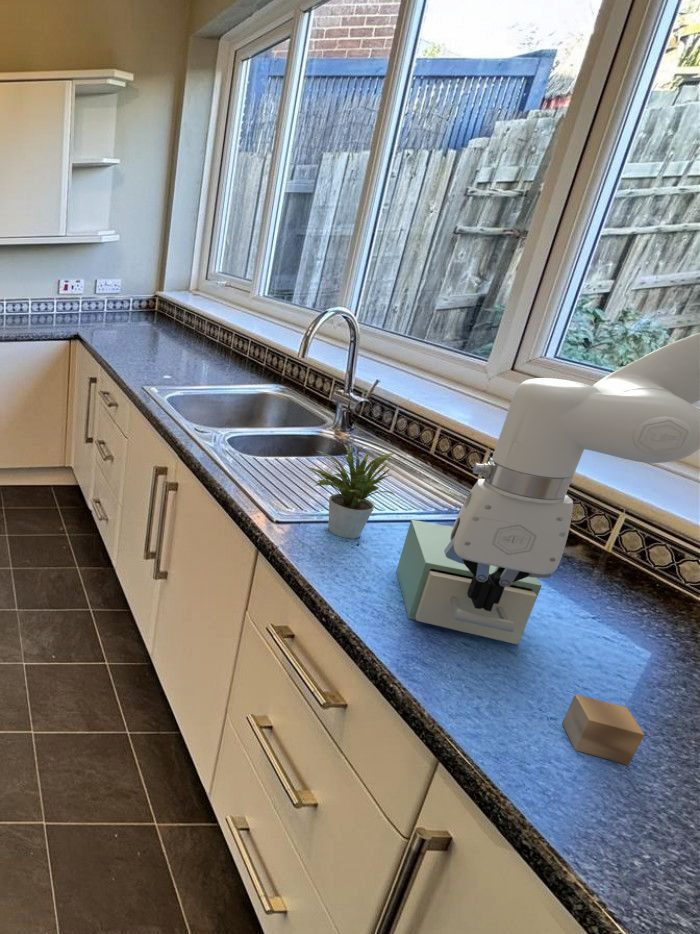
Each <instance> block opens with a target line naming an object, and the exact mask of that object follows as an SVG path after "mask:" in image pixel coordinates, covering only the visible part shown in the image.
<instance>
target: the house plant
mask: <svg viewBox="0 0 700 934" xmlns="http://www.w3.org/2000/svg"><path fill="white" fill-rule="evenodd" d="M344 448H345V450H346V453H347V455H346V454H345V453H342V455H343V456H344V458H345V460H346V463H347V465H348V469H349V474H348V473H347V471H346V470H345V469H346V468H344V466H343V465H342V463H340V461H339V460H338V459H337V458H335V457H334V456H333V455H330V454H328V453H326V452H323V451H319V450H315V449H314V450H315V452H318V453H320V454H323V455H325V456H324V458H325V459H328V460H330V461H332V462H336V464H335V463H332V462H330V461H327V463H328V464H332V465H333V466H334V467H335V469H336V470H337V471H338V473H334V474H331V473H329V472H327V471H324V470H322V469H318V468H314V467H310V466H309V467H308V468H309V469H310V470H312V471H314V474H315V475H318V476H321V477H322V478H323V479H318V480H316V481H314V484H315V483H316V484H315V485H314V487H317V486H331V487H332V488H333V489H334V490H335V492H337V493H335V494H334V493H333V494H332V495H330V496H329V497H328V521H327V523H328V525H327V526H328V527H327V529H328V531H329V532H330V533H331V534H333V535H335V536H337V537H339V538H344V539H351V540H352V539H359V538H360V536H361V534H362V533H363V530H364V528H365V526H366V525H367V523H368V520H369V519H370V516H371V515H372V514H373V513H372V512H373V511H374V509H375V504H374V503H373V502H372V501H371V500H369V499H367V498H368V497H370V496H371V495H374V494H377V493H379V494H380V493H388V494H391V495H393V496H394V497H396V494H395V493H394V492H392V491H389V490H381V491H377V490H378V489H380V487H379V486H377V484H381V483H382V480H385V478H388V477H391V476H392V474H388V472H390V470H392V469H393V468H394V467H395V465H393V466H391V467H390V468H388V469H387V470H386V471H384V472H383V473H382V474H381V475H379V474H380V473H381V472H382V471H383V470H384V469H386V467H387V466H388V465H389V464H390V463H391V460H389V461H387V460H388V459H389V458H390V457H392V456H393V455H395V454H396V452H391V453H387V454H385V455H381V456H378V457H376V458H374V459H373V460H371V461H370V462H369V463H368V464H367V462H368V459H369V453H367V454H365V456H364V458H363V459H362V460H361V462H360V457H359V456H358V454H357V453H354V454H353V452H352V450H351V449H350V448H349V446H347V445H346V444H344ZM354 456H355V461H354ZM386 461H387V462H386ZM354 462H355V463H354ZM385 462H386V463H385ZM383 463H385V464H383ZM337 465H338V466H337ZM381 465H382V466H381ZM380 466H381V467H380ZM339 467H340V468H339ZM379 467H380V468H379ZM377 469H378V470H377ZM386 474H387V475H386ZM378 475H379V476H378ZM377 476H378V477H377ZM376 477H377V478H376Z"/></svg>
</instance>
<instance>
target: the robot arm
mask: <svg viewBox="0 0 700 934" xmlns="http://www.w3.org/2000/svg"><path fill="white" fill-rule="evenodd" d="M699 401H700V332H697V333H694V334H692V335H689V336H685V337H684V338H681V339H679V340H676V341H673V342H671V343H668V344H666V345H664V346H662V347H660V348H658V349H655V350H654V351H651V352H650V353H648V354H645V355H643V356H641V357H640V358H638V359H636V360H634V361H632V362H630V363H627V364H626V365H624V366H622V367H621V368H618V369H616V370H615V371H612V372H611V373H609V374H607V375H606V376H604V377H602V378H601V379H599V380H598V381H596V382H595V383H594V384H593V385H590V384H587V383H583V382H579V381H574V380H571V379H570V380H569V379H562V378H551V377H536V378H530V379H526V380H524V381H522V382H520V384H519V385H518V386H517V387H516V388H515V391H514V393H513V396H512V399H511V401H510V404H509V407H508V409H507V414H506V416H505V419H504V422H503V425H502V428H501V430H500V434H499V436H498V440H497V442H496V445H495V447H494V451H493V454H492V457H490V458H489V459H488V461H487V462H486V463H484V462H483V463H475V464H474V465H473V468H472V474H474V475H475V474H476V475H480V476H481V477H483V478H479V479H478V480H477V481H476V483H475V484H474V485H473V486H472V488H471V490H470V491H469V493H468V495H467V497H466V498H465V499H464V502H463V504H462V506H461V508H460V510H459V512H458V514H457V517H456V519H455V521H454V523H453V526H452V527H453V529H452V532H451V536H450V539H451V542H450V543H449V544H448V546H447V547H446V548H445V550H444V553H445V556H446V557H447V558H448V559H451V560H453V561H456V562H458V563H462V564H465V566H466V567H467V568H468V569H469V570H470V571H471V573H472V574H473V578H472V581H471V583H470V586H469V589H468V597H469V598H471V600H472V602H473V605H474V607H475V608H477V609H481V608H483V609H485V610H486V611H491V610H492V607H493V605H494V603H495V604H498V603H499V601H500V599H501V596H502V593H503V591H504V588H505V587H508V586H510V585H511V584H512V582H515V581H518V580H521V579H523V578H526V577H533V578H537V579H549V578H550V577H552V574H554V573H555V572H556V571H557V569H558V567H559V565H560V563H561V560H562V557H563V555H564V551H565V547H566V544H567V540H568V538H569V537H568V536H569V532H570V528H571V523H572V519H573V517H572V516H573V510H574V500H573V498H572V497H570V496H569V495H568V494H567V493H568V490H569V488H570V485H571V483H572V480H573V478H574V475H575V472H576V470H577V467H578V465H579V463H580V461H581V458H582V455H583V453H584V451H585V450H587V451H591V452H595V453H600V454H604V455H608V456H611V457H616V458H618V459H624V460H628V461H632V462H638V463H646V464H647V463H648V464H662V463H668V462H669V463H671V462H675V461H679V460H682V459H685V458H687V457H689V456H692V455H693V454H694V453H696V452H697V451H699V450H700V410H699V409H698V408H697V407H696V406H695V405H693V404H695V403H697V402H699ZM490 565H492V566H497V568H496V569H495V571H494V573H492V574H489V568H490ZM488 575H489V576H488Z"/></svg>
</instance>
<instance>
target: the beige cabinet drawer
mask: <svg viewBox="0 0 700 934" xmlns="http://www.w3.org/2000/svg"><path fill="white" fill-rule="evenodd" d="M472 578H473V577H470V576H465V575H460V574H455V573H450V572H445V571H440V570H435V569H431V570H430V571H429V574H428V578H427V581H426V584H425V587H424V590H423V594H422V597H421V600H420V603H419V606H418V609H417V613H416V616H415V617H416V620H415V621H416V622H420V623H423V624H428V625H429V624H430V625H433V626H437V627H441V628H445V629H450V630H454V631H459V632H462V633H467V634H471V635H476V636H479V637H485V638H489V639H493V640H497V641H501V642H506V643H509V644H514V645H519V644H520V641H521V639H522V637H523V634H524V632H523V631H525V629H526V627H527V624H528V622H529V619H530V617H529V616H531V613H532V611H533V610H534V606H535V604H536V601H537V598H538V596H537V595H536V594H535V592H532V591H527V590H523V589H524V587H520V586H515V585H510V586H508V587H505V588H504V591H503V593H502V596H501V599H500V601H499V603H498V604H495V603H494V605H493V607H492V610H491V611H486V610H485V609H483V608H481V609H477V608H475V607H474V605H473V602H472V600H471V598H469V597H468V589H469V586H470V583H471V581H472ZM527 621H528V622H527ZM525 626H526V627H525ZM521 636H522V637H521Z"/></svg>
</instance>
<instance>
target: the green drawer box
mask: <svg viewBox="0 0 700 934" xmlns="http://www.w3.org/2000/svg"><path fill="white" fill-rule="evenodd" d="M452 529H453V526H452V525H451V526H450V525H445V524H438V523H433V522H427V521H422V520H416V519H410V523H409V525H408V528H407V532H406V536H405V539H404V540H405V541H404V543H403V547H402V550H401V553H400V557H399V560H398V563H397V568H396V573H397V578H398V582H399V586H400V587H399V588H400V590H401V595H402V599H403V604H404V607H405V611H406V615H407V618H408V619H409V620H413V621H416V617H415V616H416V613H417V609H418V606H419V603H420V600H421V597H422V594H423V590H424V587H425V584H426V581H427V578H428V574H429V571H430V570H431V569H435V570H440V571H445V572H450V573H455V574H460V575H465V576H470V577H473V574H472V573H471V571H470V570H469V569H468V568H467V567H466V566H465V564H462V563H458V562H456V561H453V560H451V559H448V558H447V557H446V556H445V553H444V550H445V548H446V547H447V546H448V544H449V543H450V542H451V539H450V536H451V532H452ZM496 568H497V566H492V565H490V568H489V574H492V573H494V571H495V569H496ZM488 576H489V575H488ZM511 585H515V586H520V587H524V589H523V590H527V591H532V592H535V594H536V595H537V597H538V596H539V594H540V591H541V589H542V586H543V585H542V584H541V582H540V580H539V578H533V577H526V578H523V579H521V580H518V581H515V582H512V584H511ZM530 616H531V615H530ZM530 616H529V618H530ZM528 622H529V620H528V621H527V623H528ZM526 627H527V625H526V626H525V628H526ZM524 631H525V630H524ZM524 631H523V633H524ZM522 637H523V635H522V636H521V638H522Z"/></svg>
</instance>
